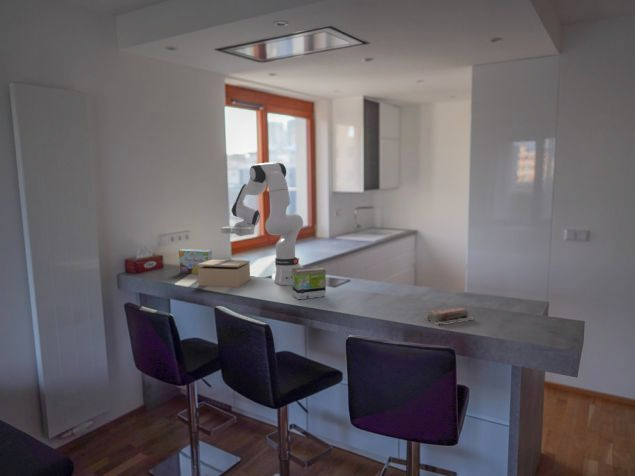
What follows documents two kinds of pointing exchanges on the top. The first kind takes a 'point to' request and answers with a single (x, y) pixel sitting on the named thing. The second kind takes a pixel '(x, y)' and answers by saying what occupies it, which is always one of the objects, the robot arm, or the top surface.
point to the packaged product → (448, 315)
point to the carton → (224, 275)
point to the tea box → (308, 282)
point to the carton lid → (224, 263)
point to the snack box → (193, 259)
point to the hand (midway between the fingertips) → (232, 232)
